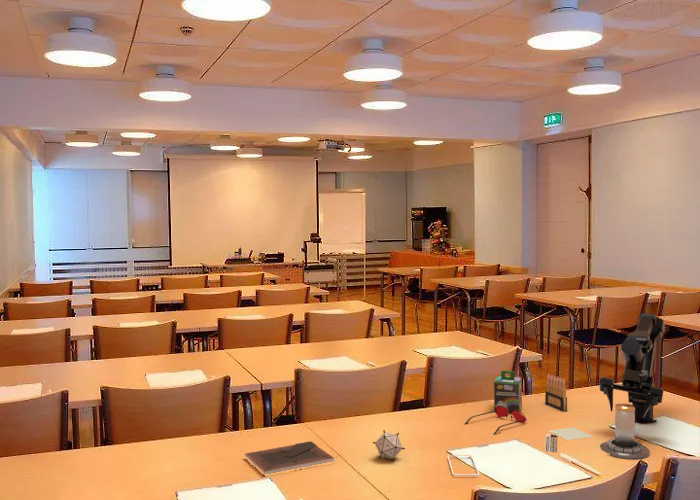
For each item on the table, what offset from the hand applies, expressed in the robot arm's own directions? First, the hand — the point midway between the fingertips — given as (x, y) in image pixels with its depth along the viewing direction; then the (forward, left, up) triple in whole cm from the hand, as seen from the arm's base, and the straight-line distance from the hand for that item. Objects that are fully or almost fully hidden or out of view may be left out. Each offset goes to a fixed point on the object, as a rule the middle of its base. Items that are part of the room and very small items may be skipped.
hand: (626, 414), depth 217 cm
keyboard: (+22, -6, -10) cm, 25 cm away
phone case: (+58, 0, -10) cm, 59 cm away
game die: (+75, -14, -9) cm, 77 cm away
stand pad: (+12, -12, -9) cm, 19 cm away
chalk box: (+15, -44, -9) cm, 47 cm away
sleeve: (+6, +6, -8) cm, 12 cm away
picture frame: (+103, -23, -10) cm, 106 cm away
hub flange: (+6, +6, -9) cm, 13 cm away
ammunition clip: (-3, -40, -9) cm, 41 cm away
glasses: (+29, -30, -10) cm, 43 cm away
